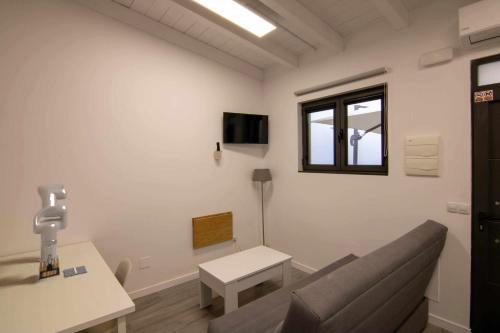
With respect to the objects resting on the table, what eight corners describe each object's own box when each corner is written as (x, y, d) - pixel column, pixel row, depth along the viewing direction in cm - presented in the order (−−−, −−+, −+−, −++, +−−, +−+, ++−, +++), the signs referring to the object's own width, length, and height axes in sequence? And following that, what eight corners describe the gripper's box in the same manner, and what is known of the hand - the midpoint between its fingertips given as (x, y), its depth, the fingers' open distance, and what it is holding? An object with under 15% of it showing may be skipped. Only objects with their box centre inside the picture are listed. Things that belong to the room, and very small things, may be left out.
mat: (63, 270, 175) (63, 269, 175) (84, 266, 183) (84, 265, 183) (65, 277, 165) (65, 276, 165) (86, 272, 172) (86, 271, 172)
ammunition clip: (59, 273, 170) (59, 256, 170) (59, 274, 169) (59, 256, 169) (38, 279, 162) (38, 260, 163) (39, 279, 161) (39, 261, 161)
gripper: (42, 240, 170) (42, 266, 170) (42, 246, 157) (42, 274, 157) (56, 238, 175) (56, 263, 175) (57, 244, 162) (57, 271, 161)
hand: (49, 268), depth 166 cm, fingers open, 8 cm apart
